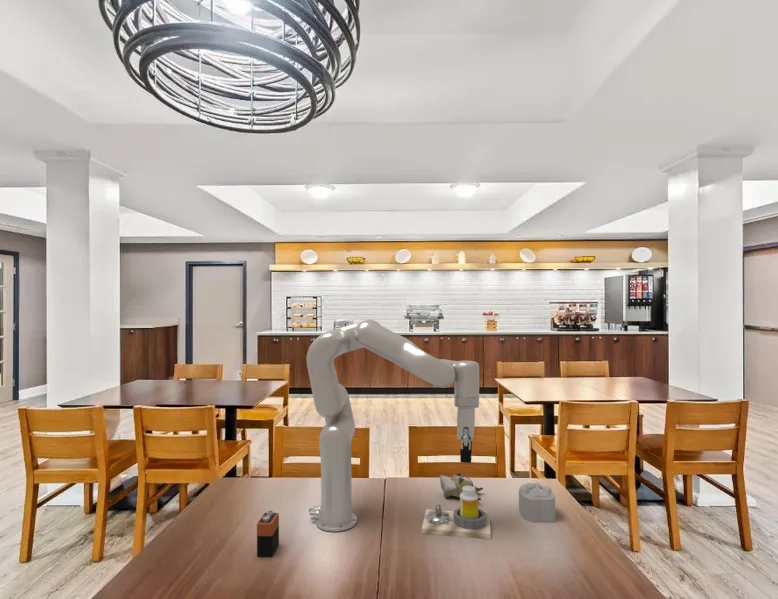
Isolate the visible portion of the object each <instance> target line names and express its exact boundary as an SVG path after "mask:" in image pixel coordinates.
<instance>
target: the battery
mask: <svg viewBox="0 0 778 599" xmlns="http://www.w3.org/2000/svg"><path fill="white" fill-rule="evenodd" d="M279 522H280V514H279V512H273V511H272V510H269V511H267V512H263V514H262V516H261V517H260V518H259V520H258V521H257V523H256V555H257V557H272V556H273V555H274V553H275V552H276V550H277V548H278V546H279V544H280V527H279V526H280V523H279Z"/></svg>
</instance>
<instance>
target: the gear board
mask: <svg viewBox="0 0 778 599" xmlns="http://www.w3.org/2000/svg"><path fill="white" fill-rule="evenodd" d="M430 511H432V512H436V509H430V508H429V509H428V508H427V509H425V513H424V517H423V521H422V527H421V534H422V535H423V534H425V535H438V536H449V537H461V538H473V539H474V538H475V539H486V540H491V538H492V537H491V536H492V535H491V534H492V533H491V522H490V520H491V519H490V513H486V525H485V526H484V527H483V528H480V529H475V530H472V529H464V528H461V527H458V526H457V525H456V524H455V523H454V510H442V509H441V512H444V513H446V512H448V513H449V516H452V521H448V523H449V524H447V525H445V524H439V526H437V525H436V524H433V523H430V524H429V523H428V521H427V519H425V516H426V515H429V512H430ZM478 519H479V518H478Z"/></svg>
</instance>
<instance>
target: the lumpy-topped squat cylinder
mask: <svg viewBox="0 0 778 599" xmlns="http://www.w3.org/2000/svg"><path fill="white" fill-rule="evenodd" d="M518 512H519V515H520V517H522V518H523V519H524V520H525V521H527V522H530V523H553V522H555V521H556V496H555V494H554V492H553V491H552V488H551V487H550V486H548V485H545V486H543V485H542V484H540V483H539V482H535V483H534V482H533V483H532V482H527V483H524V484H522V485H520V487H519V488H518Z"/></svg>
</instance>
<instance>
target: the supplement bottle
mask: <svg viewBox="0 0 778 599" xmlns="http://www.w3.org/2000/svg"><path fill="white" fill-rule="evenodd" d="M478 498H479V495H478V494H477V492H476V491H475V487H473V486H464V487H463V488H462V493H461V494H460V498H459V508H460V517H462V518H465V519H472V520H473V519H478V508H479V500H478Z"/></svg>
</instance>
